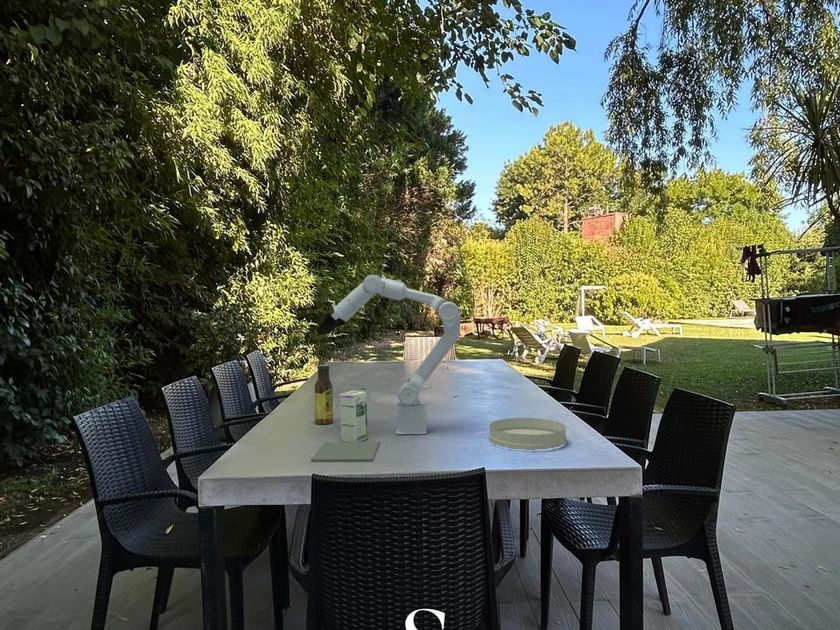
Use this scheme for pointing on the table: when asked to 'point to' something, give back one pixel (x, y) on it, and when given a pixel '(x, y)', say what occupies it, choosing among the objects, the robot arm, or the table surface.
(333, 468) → the table surface
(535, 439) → the dish
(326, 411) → the sauce bottle
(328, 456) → the mat
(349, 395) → the syrup box
